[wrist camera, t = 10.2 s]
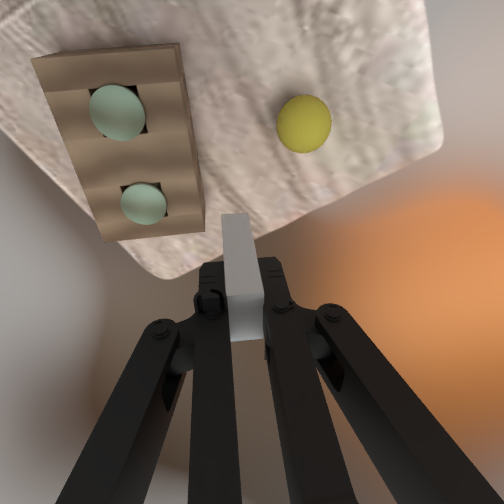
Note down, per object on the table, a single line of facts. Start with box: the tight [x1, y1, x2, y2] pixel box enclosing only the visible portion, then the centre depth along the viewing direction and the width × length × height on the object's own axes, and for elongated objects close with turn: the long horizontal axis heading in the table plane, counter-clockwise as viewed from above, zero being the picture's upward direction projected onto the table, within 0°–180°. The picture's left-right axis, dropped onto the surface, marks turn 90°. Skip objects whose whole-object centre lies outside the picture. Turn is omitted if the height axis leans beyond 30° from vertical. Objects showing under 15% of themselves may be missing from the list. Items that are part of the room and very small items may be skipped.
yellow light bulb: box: [277, 95, 332, 153], centre depth 41 cm, size 7×7×10 cm
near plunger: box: [89, 84, 146, 141], centre depth 38 cm, size 6×6×8 cm
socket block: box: [31, 43, 205, 242], centre depth 42 cm, size 22×14×8 cm, turn 3°
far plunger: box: [120, 182, 167, 225], centre depth 44 cm, size 6×6×8 cm
